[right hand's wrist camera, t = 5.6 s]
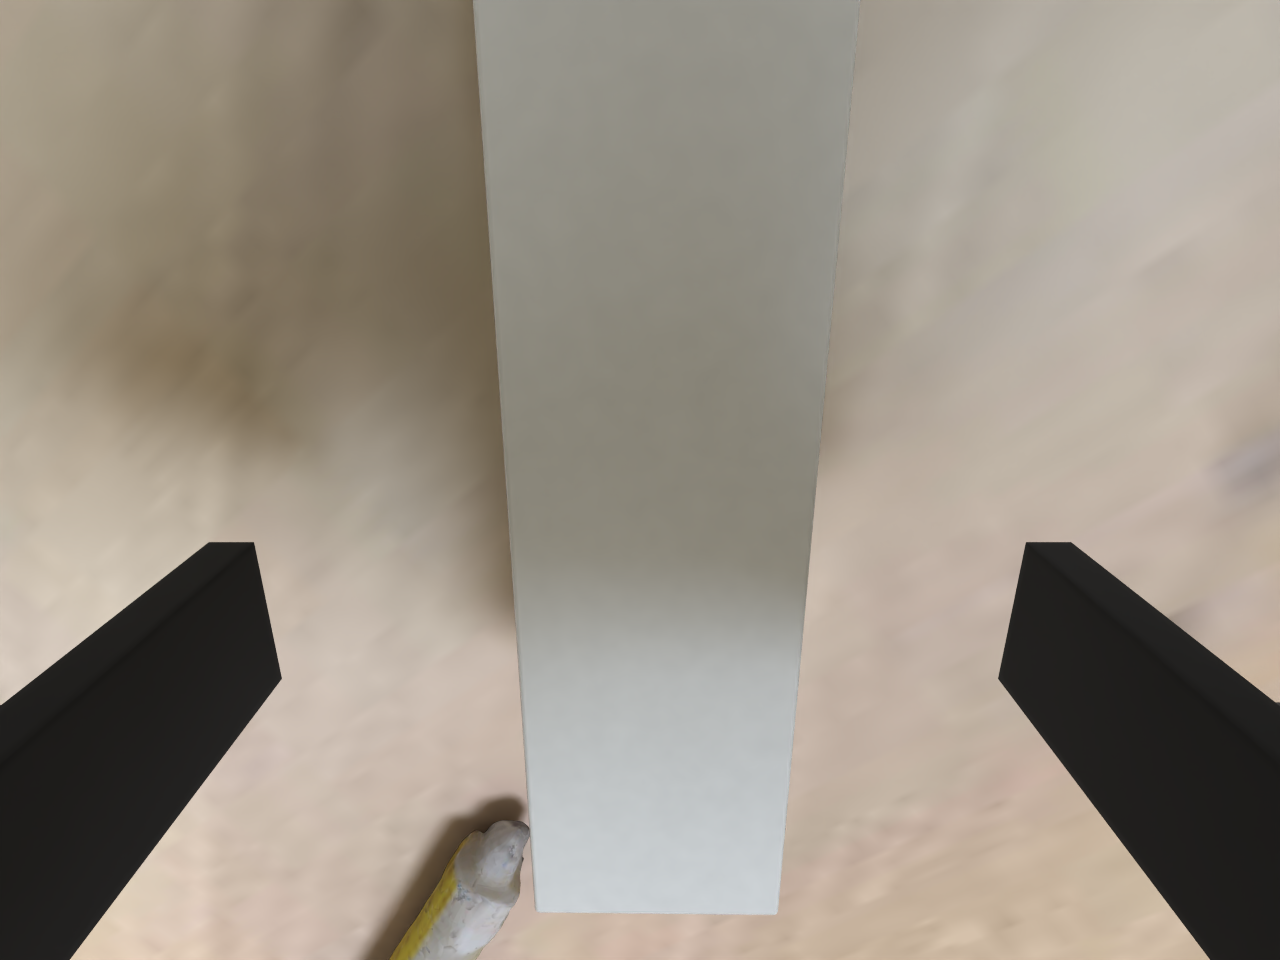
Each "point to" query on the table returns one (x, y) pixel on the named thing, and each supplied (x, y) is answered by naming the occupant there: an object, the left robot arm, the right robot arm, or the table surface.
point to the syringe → (469, 897)
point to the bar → (661, 421)
